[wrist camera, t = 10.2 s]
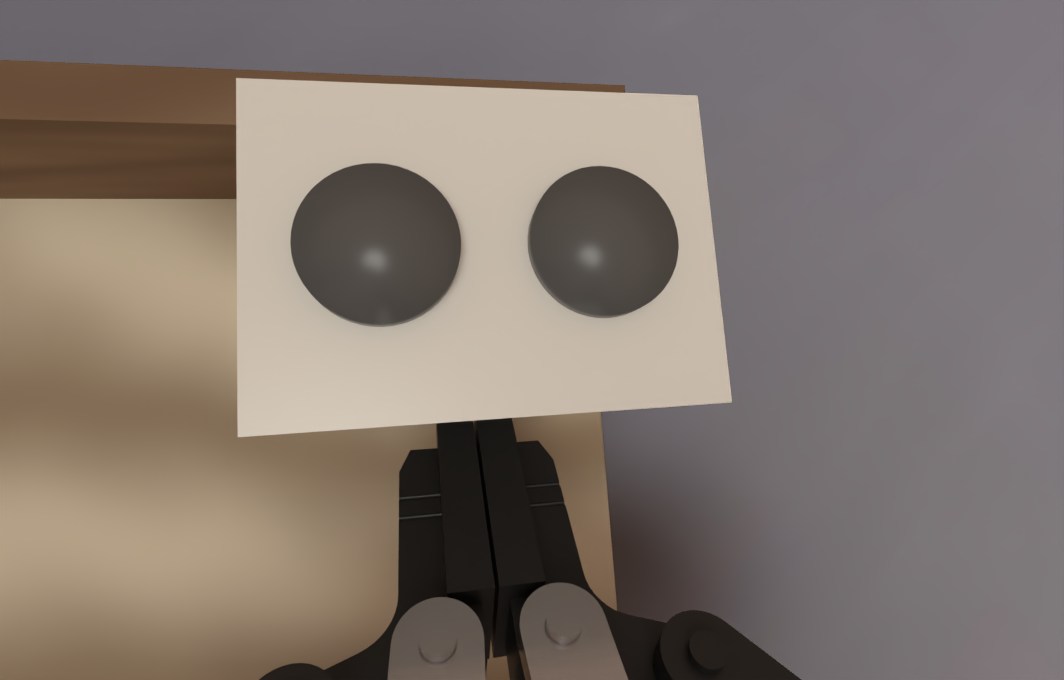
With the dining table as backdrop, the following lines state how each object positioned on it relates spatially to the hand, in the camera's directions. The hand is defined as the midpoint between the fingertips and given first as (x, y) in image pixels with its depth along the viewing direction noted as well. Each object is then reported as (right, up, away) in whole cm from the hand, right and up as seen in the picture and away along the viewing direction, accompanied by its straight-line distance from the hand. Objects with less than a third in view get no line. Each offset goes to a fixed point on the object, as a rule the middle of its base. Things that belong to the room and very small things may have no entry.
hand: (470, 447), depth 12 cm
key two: (-1, +2, +4) cm, 4 cm away
